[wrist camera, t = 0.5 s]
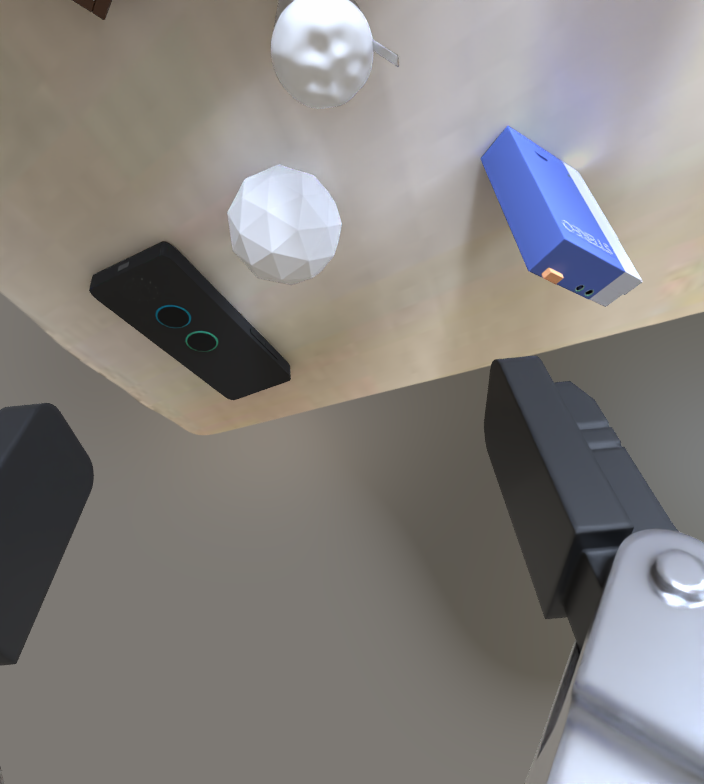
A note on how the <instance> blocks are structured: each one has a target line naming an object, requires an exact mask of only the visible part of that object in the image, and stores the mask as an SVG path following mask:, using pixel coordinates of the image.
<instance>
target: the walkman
mask: <svg viewBox="0 0 704 784" xmlns="http://www.w3.org/2000/svg"><path fill="white" fill-rule="evenodd" d="M481 161H482V163H483V166H484V168H485V170H486V173H487V175H488V177H489V180H490V182H491V184H492V187H493V189H494V192H495V194H496V196H497V199H498V201H499V203H500V206H501V208H502V210H503V213H504V215H505V217H506V220H507V222H508V224H509V227H510V229H511V231H512V234H513V236H514V238H515V241H516V243H517V245H518V248H519V250H520V252H521V255H522V257H523V259H524V262H525V264H526V267H527V269H528V271H530V272H532V273H534V274H536V275H538V276H540V277H542V278H544V279H546V280H548V281H550V282H552V283H554V284H557V285H559V286H561V287H563V288H566V289H568V290H570V291H572V292H574V293H576V294H578V295H580V296H583V297H585V298H587V299H590V300H592V301H594V302H596V303H598V304H600V305H603V306H605V307H606V306H608V305H609V304H610V303H612V302H613V301H614V300H616V299H617V298H618V297H620V296H621V295H622V294H624V295H625V294H627V293H628V292H629V291H631V290H632V289H634V288H635V287H636V286H638V285H639V284H640V283H642V280H641V278H640V276H639V274H638V273H637V271H636V269H635V268H634V266H633V264H632V263H631V261H630V259H629V258H628V256H627V254H626V253H625V251H624V249H623V247H622V246H621V244H620V242H619V239H618V237H617V236H616V234H615V232H614V231H613V229H612V227H611V226H610V224H609V222H608V221H607V219H606V217H605V216H604V214H603V212H602V211H601V209H600V207H599V205H598V204H597V202H596V200H595V199H594V197H593V195H592V194H591V192H590V190H589V189H588V187H587V185H586V184H585V182H584V180H583V179H582V177H581V175H580V173H579V172H578V171H576V170H575V169H573V168H572V167H570V166H569V165H567V164H566V163H564V162H562V161H561V160H559V159H558V158H556V157H555V156H553V155H552V154H550V153H549V152H547V151H546V150H544V149H542V148H541V147H539V146H538V145H536V144H535V143H533V142H532V141H530V140H529V139H527V138H526V137H524V136H523V135H521V134H520V133H518V132H517V131H515V130H513V129H512V128H510V127H509V126H507V127H506V128H505V130H504V131H503V132H502V133H501V134H500V136H499V137H498V138H497V139H496V140H495V142H494V143H493V144H492V145H491V147H490V148H489V149H488V150H487V151H486V153H485V154H484V155H483V156H482V157H481Z"/></svg>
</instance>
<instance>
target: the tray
mask: <svg viewBox="0 0 704 784" xmlns="http://www.w3.org/2000/svg"><path fill="white" fill-rule="evenodd" d="M73 1H74V2H76V3H77V4H79V5H81V6H82V7H84V8H85V9H87V10H89V11H90V12H93V14H95V15H97V16H98V17H100V18H101V19H103V20H105V18H106V16H107V13H108V10H109V7H110V5H111V2H112V0H73Z"/></svg>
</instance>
